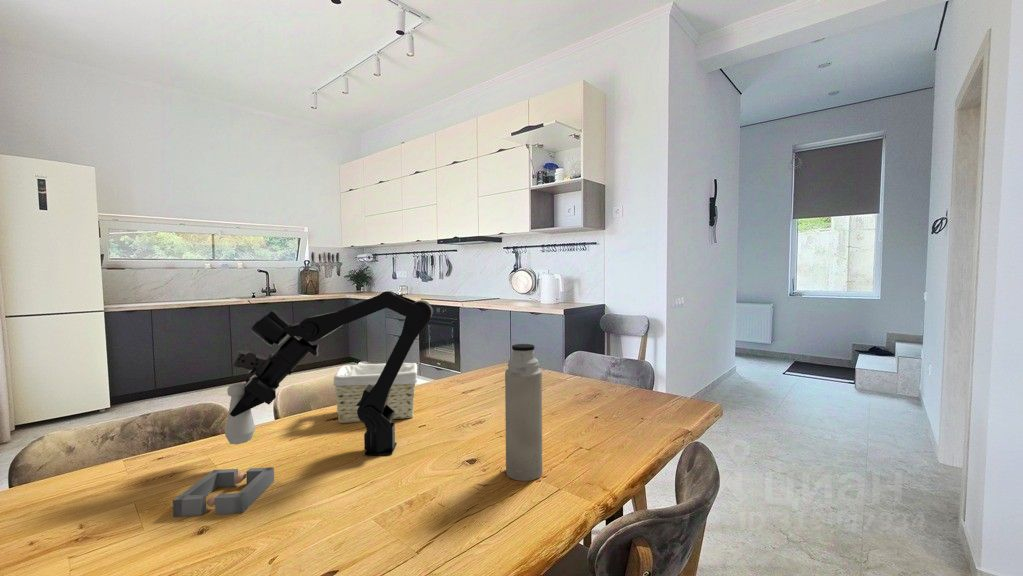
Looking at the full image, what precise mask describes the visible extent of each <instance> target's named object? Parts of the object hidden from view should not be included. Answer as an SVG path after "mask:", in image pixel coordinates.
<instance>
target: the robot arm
mask: <svg viewBox="0 0 1023 576" xmlns="http://www.w3.org/2000/svg"><path fill="white" fill-rule="evenodd" d="M384 309H389V310H391V311H393V312H395V313H397V314H399V315H401V316H403V317H405V318H404V321H403V326H402V330H401V333H400V335H399V337H398V339H397V341H396V344H395V345H394V348H393V349H392V351H391V353H390V355H389V357H388V359H387V360H386V363H385V364H386V365H385V367H384V369H383V371H382V373H381V375H380V377H379V379H378V381H377V383H376V384H375V386H374V387H373V386H372V385H370V384H369V385H368V386H367V388H366V389H365V390H364V392H363V395H362V398H361V400H360V401H359V402H358V404H357V405H356V406H359V408H358V410H357V415H358V418H359V419H360V420H361V421H362V422H361V423H363V424H364V426H365V430H366V431H365V432H364V435H363V440H364V441H363V442H364V443H363V444H364V445H363V446H364V447H363V449H364V451H365V452H364V456H385V455H387V456H388V455H393V453H394V452H395V449H396V446H397V442H396V436H395V435H396V430H395V428H396V425H395V422H392V420H394V419H393V417H394V414H395V411H394V410H393V409H391V408H390V407H389V406H388V405H387V401H388V398H389V394H390V390H391V386H392V384H393V382H394V380H395V378H396V376H397V374H398V372H399V370H400V368H401V366H402V364H403V363H405V360H406V358H407V356H408V355H409V352H410V350H411V348H412V347H413V344H414V342H415V340H416V338H418V336H420V333H421V332H422V331H423V329H424V328H425V326H427V324H428V323H429V321H430V319H431V318H432V317H433V314H434V313H433V307H432V305H431V304H430V303H429V302H428V301H427V300H423V299H422V300H417V301H416V300H414V299H411V298H408V297H406V296H403V295H400V294H398V293H395V292H394V291H393V290H387V291H383V292H381V293H380V294H378V295H375V296H372V297H370V298H368V299H366V300H362V301H360V302H358V303H355V304H353V305H350V306H347V307H345V308H343V309H340V310H337V311H331V312H328V313H321V314H318V315H314V316H310V317H307V318H304V319H303V320H301V321H300V322H296V323H291V322H289V321H288V320H286V319H285V318H284V317H283V316H282V315H281V314H280V313H279V312H278V311H277V310H276V309H275V310H271V311H270V312H269V313H268V314H266V315H265V316H263V317H262V318H261V319H259V320H257V321H256V322H255V323H254V324H253V326H252V327H251V329H250V331H251V332H252V333H253V334H254V335H256V337H258V338H259V339H260V340H262V341H263V342H264V343H266V345H268V346H269V347H272V346H274V345H275V346H277V347H278V346H280V345H281V346H280V347H279V348H278V349H277V350H276V351H275V352H274V353H269V355H267V356H263V355H260V354H257V353H256V352H255V353H254V352H251V351H250V350H249V351H248V350H244V349H243V350H242V349H240V350H239V352H238V353H237V355H236V357H235V360H234V361H233V364H232V366H233V367H236V368H239V369H240V368H243V369H246V370H249V371H248V372H247V374H248V375H250V376H251V375H252V376H251V377H249V376H246V377H245V382H244V383H245V384H244V395H243V396H242V397H241V399H240V400H239V401H238V403H237V404H236V406H235V407H234V408H233V410H232V411H231V413H230V415H231V416H233V417H235V416H237V415H239V414H241V413H243V412H245V411H247V410H249V409H251V410H252V409H253V408H256V407H258V406H260V405H262V404H264V403H265V404H267V405H270V404H271V403H272V402H273V401H274V400H275V399H276V398H277V394H276V390H277V389H278V388H279V387H280V383H282V381H284V379H285V378H287V376H290V375H291V374H293V372H294V371H293V370H294V369H296V367H297V366H298V365H299V364H300V363H301V362H302V361H303V360H304V359H305V358H306V357H307V356H308V355H309V354H312V355H313V356H315V357H318V356H319V354H320V353H319V346H320V345H319V344H313V342H317V341H319V340H321V339H323V338H325V337H326V336H328V335H330V334H332V333H333V332H335V331H336V330H338V329H339V328H341V327H342V326H345V325H346V324H349V323H351V322H353V321H358V320H359V319H362V318H365V317H367V316H369V315H371V314H374V313H377V312H380V311H382V310H384ZM298 337H299V338H298ZM282 343H283V344H282ZM246 383H247V384H246Z"/></svg>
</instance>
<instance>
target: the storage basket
mask: <svg viewBox="0 0 1023 576" xmlns="http://www.w3.org/2000/svg"><path fill="white" fill-rule="evenodd" d="M385 365H386V363H362V364H348V365H345V364H344V365H342V366H341V367H340V368H339V369H338V370H337V371H336V373H335V375H334V377H333V386H334V387H335V395H336V407H337V408H336V410H337V417H338V423H343V424H348V423H357V422H361V423H363V422H362V421H361V420H360V419H359V418H358V415H357V410H358V408H359V406H356V405H357V404H358V402H359V401H360V400H361V398H362V395H363V392H364V390H365V389H366V388H367V386H368V385H369V384H370V385H372V386H373V387H374V386H375V384H376V383H377V381H378V379H379V377H380V375H381V373H382V371H383V369H384V367H385ZM417 378H418V364H417V363H416V362H403V364H402V366H401V368H400V370H399V372H398V374H397V376H396V378H395V380H394V382H393V384H392V386H391V390H390V394H389V398H388V401H387V405H388V406H389V407H390V408H391V409H393V410H394V411H395V414H394V417H393V419H392V420H396V419H397V420H398V419H399V420H402V419H411V418H414V405H415V404H414V403H415V391H416V390H415V389H416V383H417V382H418V381H417V380H418V379H417Z"/></svg>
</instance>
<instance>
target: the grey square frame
mask: <svg viewBox="0 0 1023 576" xmlns="http://www.w3.org/2000/svg"><path fill="white" fill-rule="evenodd" d="M245 473H246V478H245V479H246V485H245V486H244V487H243V488H242V489H241V490H240V491H239V492H235V493H232V492H231V493H219V495H218V496H217V497H216V498H215V505H214V514H215V515H227V514H229V515H230V514H243V513H244V512H246V510H247V509H248V508H249V507H251V506H252V504H253V503H254V502H255V501H257V499H259V497H260V496H261V495H262V494H263V493H264V492H265V491H266V490H267V489H268V488H269V487H270V486H271V485H273V483H274V482H275V467H273V466H272V467H250V468H249V469H248V470H246V471H245ZM238 474H239V468H225V469H213V470H211V471H210V472H209V473H208V474H206V475H205V476H204V477H202V478H201V479H199V480H198V481H197V482H195V483H194V484H193V485H191V486H190V487H189V488H187V489H186V490H184V491H183V492H182V493H180V494H179V495H178V496H176V497H175V498H174V499H172V510H173V511H172V516H173V517H189V516H190V517H191V516H202V515H203V514H204V513H206V512H207V510H208V509H207V497H208V496H209V495H210V494H211V493H213V491H215V490H216V489H218V488H227V487H228V488H230V487H235V486H237V485H238V484H239V483H235V482H234V477H235V476H237V475H238Z"/></svg>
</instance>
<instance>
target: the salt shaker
mask: <svg viewBox="0 0 1023 576" xmlns="http://www.w3.org/2000/svg"><path fill="white" fill-rule="evenodd" d="M245 383H246V382H238V383H234V384H231V385H229V386H228V387H227V395H228V397H230V403H229V408H228V413H227V419H226V423H225V429H224V435H225V437H226V439H227V441H228V443H229V444H230V445H240V444H244V443H248V442H249V441H251V440H252V439H253V436H254V434H255V430H256V425H255V422H254V418H253V413H252V408H251V409H249V410H247V411H245V412H243V413H241V414H239V415H237V416H235V417H233V416H231V415H230V413H231V411H232V410H233V408H234V407H235V406H236V404H237V403H238V401H239V400H240V399H241V397H242V396H243V395H244V384H245ZM246 384H247V383H246Z"/></svg>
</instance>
